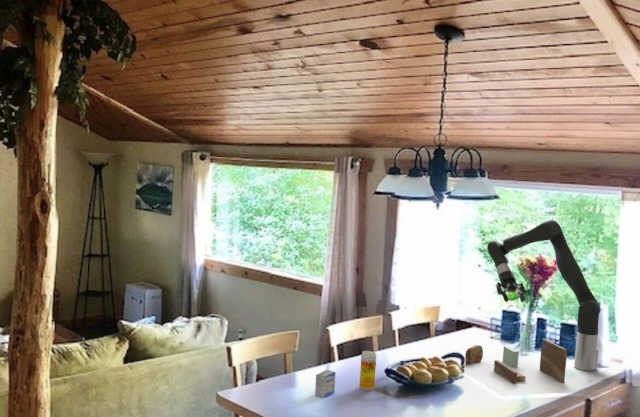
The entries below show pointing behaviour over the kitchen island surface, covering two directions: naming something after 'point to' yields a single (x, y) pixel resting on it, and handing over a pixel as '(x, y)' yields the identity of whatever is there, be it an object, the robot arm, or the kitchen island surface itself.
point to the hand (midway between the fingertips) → (515, 301)
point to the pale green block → (510, 356)
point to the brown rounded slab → (474, 355)
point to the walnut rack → (541, 363)
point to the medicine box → (325, 383)
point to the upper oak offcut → (520, 376)
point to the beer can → (367, 370)
